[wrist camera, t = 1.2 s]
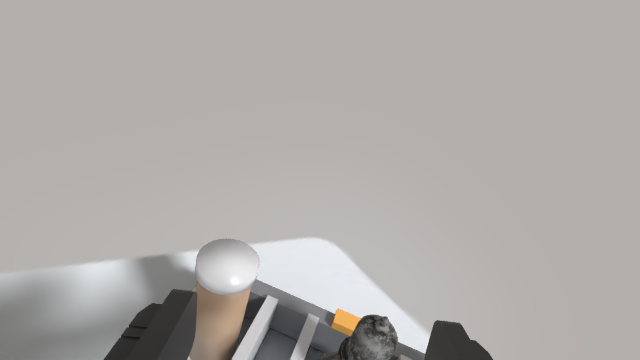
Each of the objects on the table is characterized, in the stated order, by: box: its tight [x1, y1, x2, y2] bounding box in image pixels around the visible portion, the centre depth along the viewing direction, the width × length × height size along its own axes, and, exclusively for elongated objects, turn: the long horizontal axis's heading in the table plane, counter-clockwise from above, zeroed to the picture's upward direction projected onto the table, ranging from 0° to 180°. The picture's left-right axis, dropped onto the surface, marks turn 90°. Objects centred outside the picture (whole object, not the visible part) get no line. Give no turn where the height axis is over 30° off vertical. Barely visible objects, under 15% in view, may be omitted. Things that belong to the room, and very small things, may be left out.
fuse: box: [187, 239, 260, 360], centre depth 27 cm, size 4×4×11 cm
